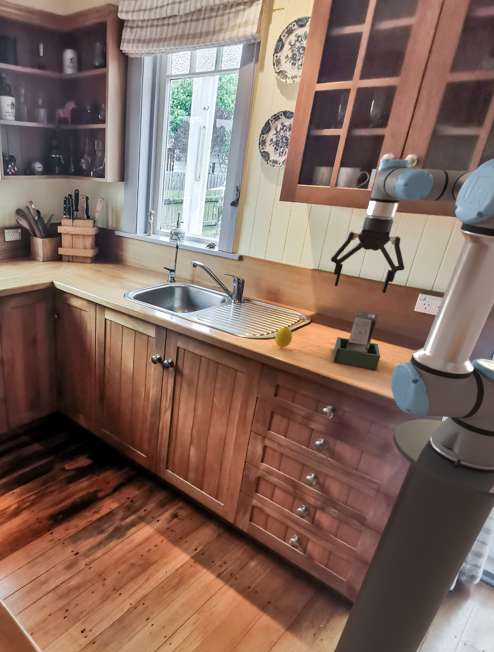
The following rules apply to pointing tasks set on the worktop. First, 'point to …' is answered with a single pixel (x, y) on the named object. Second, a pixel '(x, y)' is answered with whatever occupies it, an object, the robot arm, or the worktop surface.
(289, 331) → the lemon
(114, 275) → the worktop surface
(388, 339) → the worktop surface
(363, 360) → the box
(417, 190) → the robot arm
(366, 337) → the coffee box
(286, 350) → the worktop surface
